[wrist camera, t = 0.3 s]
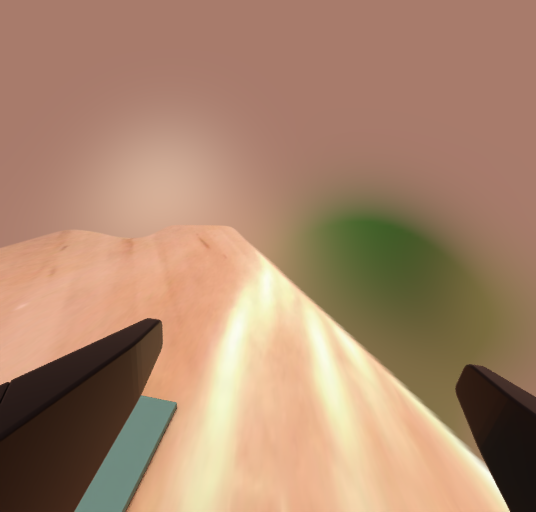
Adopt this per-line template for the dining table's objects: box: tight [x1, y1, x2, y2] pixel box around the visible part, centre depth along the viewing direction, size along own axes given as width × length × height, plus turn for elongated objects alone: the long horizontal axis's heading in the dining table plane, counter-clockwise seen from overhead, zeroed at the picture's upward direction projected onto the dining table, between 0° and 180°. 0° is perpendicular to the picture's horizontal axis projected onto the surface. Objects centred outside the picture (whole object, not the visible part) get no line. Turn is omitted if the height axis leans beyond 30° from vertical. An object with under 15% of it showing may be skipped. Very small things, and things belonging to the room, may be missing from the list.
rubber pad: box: [74, 395, 177, 512], centre depth 19 cm, size 12×12×1 cm
